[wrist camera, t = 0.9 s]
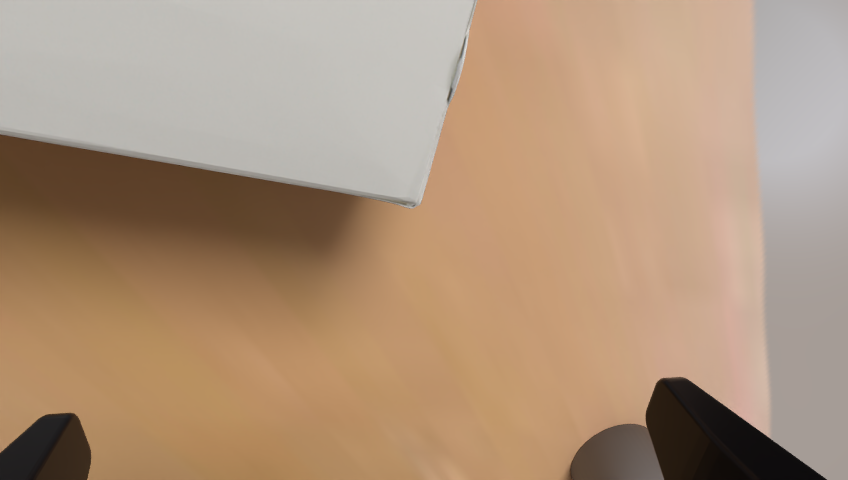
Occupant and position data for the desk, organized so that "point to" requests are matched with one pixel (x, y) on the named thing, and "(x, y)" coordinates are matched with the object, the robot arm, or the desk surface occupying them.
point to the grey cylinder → (617, 456)
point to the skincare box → (242, 85)
